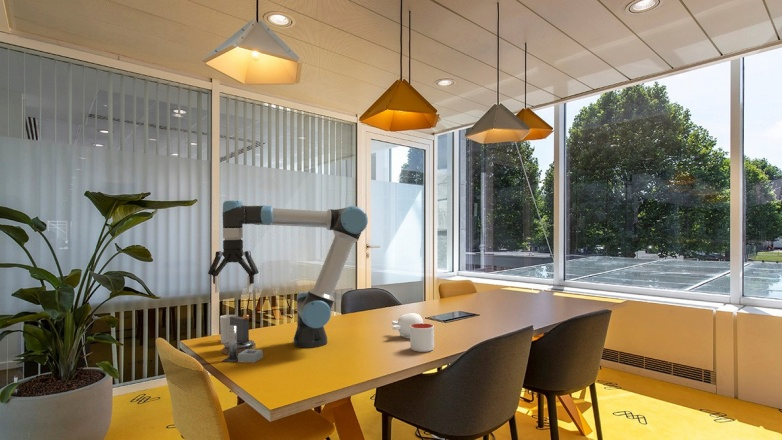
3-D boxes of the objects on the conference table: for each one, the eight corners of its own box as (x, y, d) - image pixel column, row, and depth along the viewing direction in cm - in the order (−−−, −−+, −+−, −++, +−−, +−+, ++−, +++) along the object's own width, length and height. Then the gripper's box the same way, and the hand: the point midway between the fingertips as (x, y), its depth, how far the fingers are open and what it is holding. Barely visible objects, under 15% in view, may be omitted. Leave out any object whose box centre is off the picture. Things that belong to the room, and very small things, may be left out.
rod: (234, 359, 171) (234, 326, 172) (227, 359, 172) (227, 326, 172) (238, 357, 174) (238, 325, 175) (231, 357, 175) (231, 325, 175)
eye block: (262, 357, 176) (262, 349, 176) (254, 362, 169) (254, 354, 169) (246, 356, 177) (246, 349, 177) (237, 361, 170) (237, 354, 170)
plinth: (255, 347, 191) (255, 342, 191) (244, 354, 181) (244, 348, 181) (234, 347, 192) (234, 342, 192) (222, 353, 182) (222, 348, 182)
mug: (236, 343, 199) (236, 316, 199) (220, 344, 196) (220, 318, 196) (234, 338, 208) (234, 313, 208) (219, 339, 205) (219, 314, 205)
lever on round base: (243, 340, 195) (243, 310, 195) (259, 344, 187) (259, 313, 188) (218, 346, 185) (218, 314, 186) (235, 350, 178) (234, 317, 178)
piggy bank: (424, 338, 209) (393, 341, 209) (421, 313, 213) (391, 316, 213) (425, 336, 198) (393, 339, 197) (423, 310, 201) (390, 313, 201)
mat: (243, 357, 175) (243, 356, 175) (236, 362, 170) (236, 361, 170) (229, 357, 176) (229, 356, 176) (221, 361, 170) (221, 360, 170)
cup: (437, 347, 187) (436, 324, 187) (429, 353, 178) (429, 329, 178) (415, 345, 191) (415, 322, 191) (406, 351, 182) (406, 327, 182)
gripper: (266, 238, 176) (267, 290, 176) (209, 239, 180) (209, 290, 179) (258, 238, 169) (259, 293, 169) (198, 239, 172) (199, 293, 172)
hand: (233, 292), depth 174 cm, fingers open, 13 cm apart
